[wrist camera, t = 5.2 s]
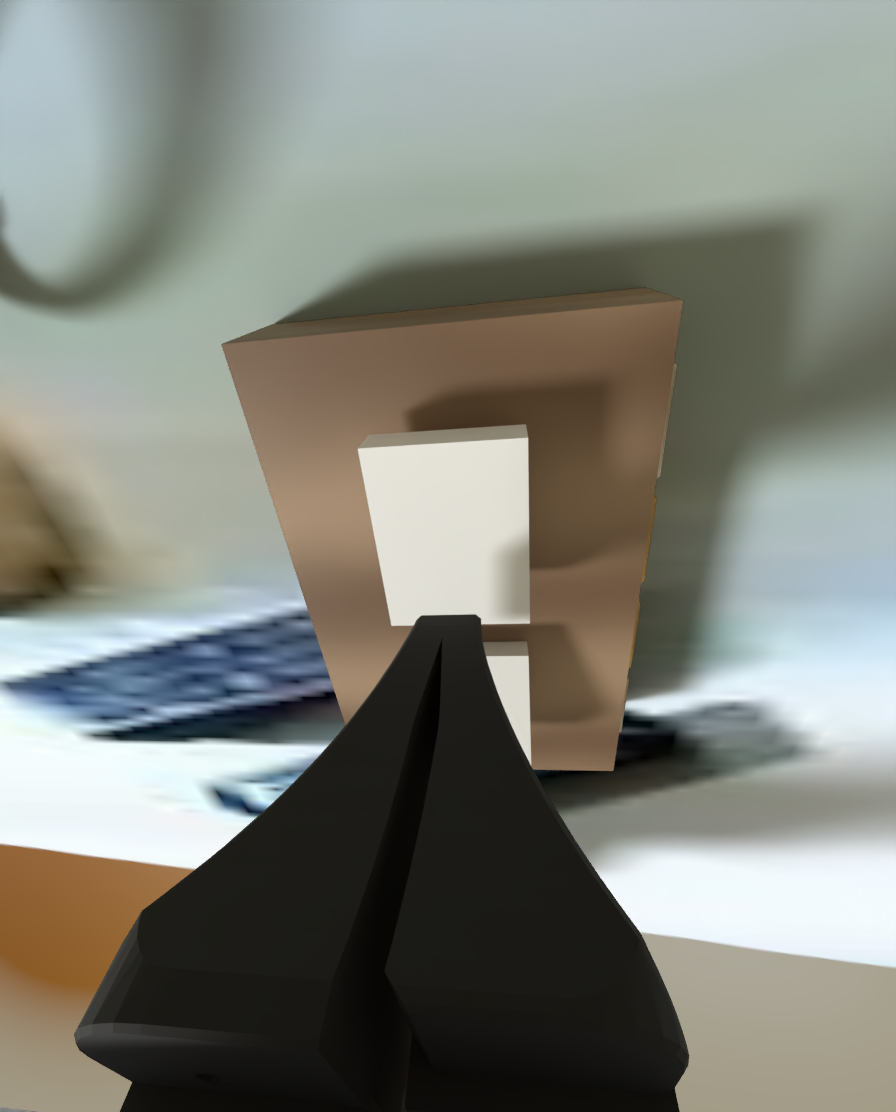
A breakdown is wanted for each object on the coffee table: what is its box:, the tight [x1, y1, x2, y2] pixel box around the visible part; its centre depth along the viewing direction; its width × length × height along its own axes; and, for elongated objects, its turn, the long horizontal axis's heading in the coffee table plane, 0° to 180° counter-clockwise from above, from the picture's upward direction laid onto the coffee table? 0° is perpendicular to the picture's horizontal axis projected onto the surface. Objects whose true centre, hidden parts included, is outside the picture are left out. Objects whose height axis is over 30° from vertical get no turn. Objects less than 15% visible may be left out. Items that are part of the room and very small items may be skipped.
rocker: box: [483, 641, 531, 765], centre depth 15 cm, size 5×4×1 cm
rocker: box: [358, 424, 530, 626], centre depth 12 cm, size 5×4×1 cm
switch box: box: [221, 287, 683, 771], centre depth 16 cm, size 16×10×4 cm, turn 6°
